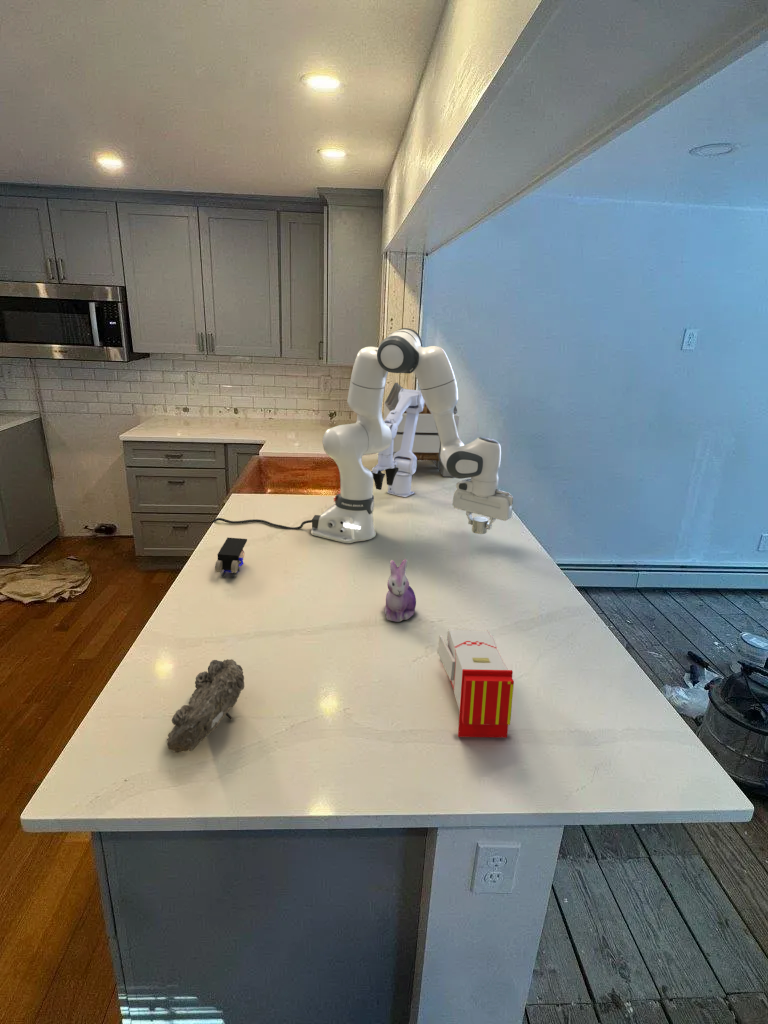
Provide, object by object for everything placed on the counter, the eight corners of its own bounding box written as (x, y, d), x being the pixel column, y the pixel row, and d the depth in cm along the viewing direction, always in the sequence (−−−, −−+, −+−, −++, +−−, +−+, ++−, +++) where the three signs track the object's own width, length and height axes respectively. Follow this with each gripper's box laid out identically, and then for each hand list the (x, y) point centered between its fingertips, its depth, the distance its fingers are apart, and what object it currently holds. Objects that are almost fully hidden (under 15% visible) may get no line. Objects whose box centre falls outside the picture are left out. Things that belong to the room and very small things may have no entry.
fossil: (192, 660, 117) (244, 628, 112) (224, 691, 120) (276, 661, 115) (142, 746, 98) (202, 712, 93) (182, 779, 101) (242, 748, 96)
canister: (470, 532, 188) (472, 520, 186) (472, 527, 192) (473, 515, 191) (486, 534, 187) (487, 522, 185) (487, 529, 191) (488, 517, 190)
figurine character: (238, 584, 162) (249, 557, 175) (236, 562, 158) (247, 536, 172) (215, 584, 161) (227, 556, 175) (212, 561, 158) (225, 535, 171)
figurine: (392, 627, 141) (395, 572, 136) (374, 608, 149) (376, 556, 144) (425, 619, 145) (429, 566, 140) (405, 601, 154) (408, 550, 149)
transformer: (380, 458, 298) (383, 379, 285) (441, 459, 302) (447, 381, 288) (387, 476, 267) (391, 388, 253) (455, 477, 270) (463, 391, 257)
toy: (488, 613, 130) (523, 677, 101) (484, 667, 133) (517, 744, 104) (435, 612, 130) (455, 676, 101) (432, 666, 133) (451, 743, 103)
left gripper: (517, 491, 181) (512, 531, 186) (461, 478, 192) (457, 516, 197) (509, 495, 176) (504, 537, 181) (452, 482, 187) (448, 521, 192)
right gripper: (383, 458, 212) (382, 493, 217) (404, 452, 223) (402, 485, 228) (368, 455, 216) (367, 489, 220) (389, 449, 227) (388, 481, 232)
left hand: (479, 526), depth 189 cm, fingers closed on canister, 5 cm apart
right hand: (384, 487), depth 224 cm, fingers open, 7 cm apart
